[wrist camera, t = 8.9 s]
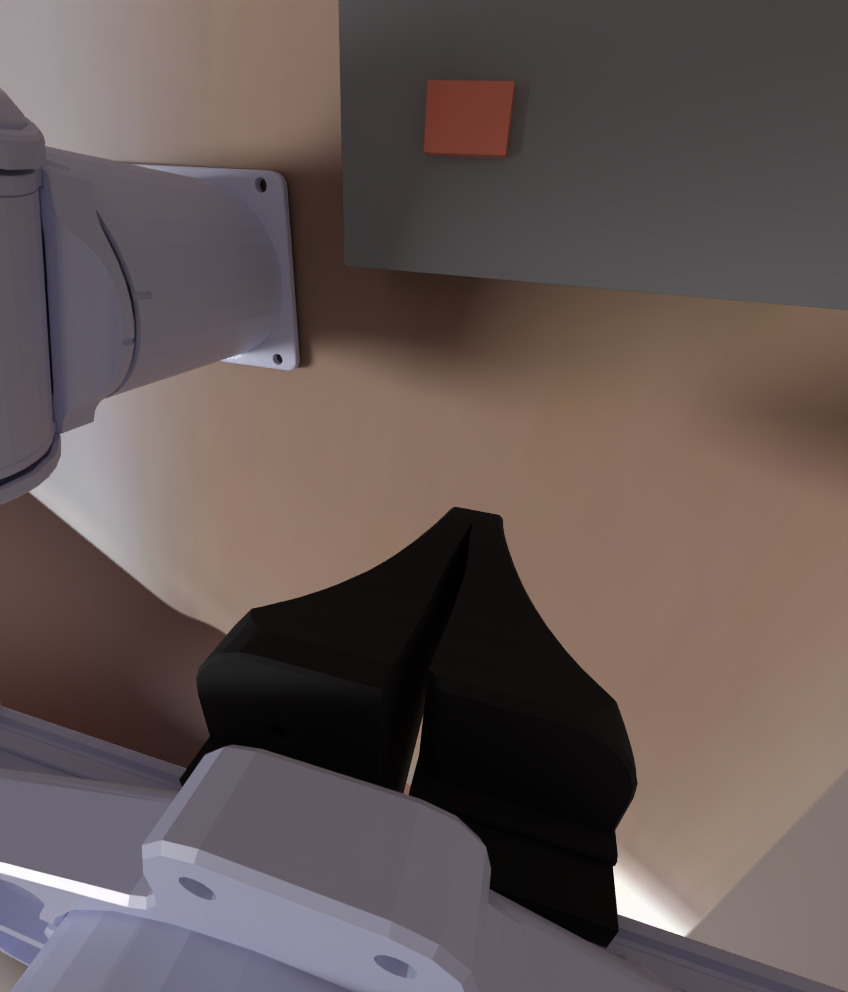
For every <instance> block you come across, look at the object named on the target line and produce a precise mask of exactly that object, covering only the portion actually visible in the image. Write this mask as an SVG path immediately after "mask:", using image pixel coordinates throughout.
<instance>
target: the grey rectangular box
mask: <svg viewBox="0 0 848 992" xmlns="http://www.w3.org/2000/svg"><path fill="white" fill-rule="evenodd" d="M339 41H340V89H341V137H342V185H343V233H344V266H353V267H364V268H376V269H387V270H399V271H410V272H421V273H433V274H444V275H455V276H467V277H478V278H489V279H501V280H512V281H524V282H535V283H546V284H558V285H569V286H580V287H592V288H603V289H614V290H626V291H637V292H649V293H660V294H671V295H683V296H694V297H705V298H717V299H728V300H739V301H751V302H762V303H773V304H785V305H796V306H808V307H819V308H830V309H842V310H848V0H339Z"/></svg>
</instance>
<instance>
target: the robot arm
mask: <svg viewBox="0 0 848 992" xmlns="http://www.w3.org/2000/svg"><path fill="white" fill-rule="evenodd" d="M262 179H264V180H265V181H266V184H267V188H266V190H265V192H263V191H262V190H261V187H260V183H261V181H262ZM277 354H279V355H280V356H281V357H282V360H283V361H282V363H281V362H279V361H278V359H277ZM217 361H221V362H228V363H236V364H243V365H250V366H258V367H265V368H273V369H280V370H287V371H290V370H294V369H296V368H297V367H298V366H299V363H300V356H299V342H298V328H297V314H296V300H295V286H294V272H293V258H292V244H291V230H290V216H289V202H288V188H287V183H286V180H285V179H284V177H283V176H282V175H281V174H280V173H277V172H274V171H268V170H248V169H228V168H208V167H187V166H167V165H147V164H127V163H122V162H117V161H113V160H108V159H103V158H98V157H94V156H89V155H84V154H80V153H75V152H70V151H65V150H61V149H56V148H51V147H47V146H45V139H44V136H43V134H42V133H41V131H40V130H39V129H38V127H37V126H36V125H35V124H34V123H33V122H31V121H30V120H29V119H28V118H26V117H25V116H24V114H23V113H22V112H21V111H20V110H19V108H18V107H17V106H16V105H15V104H14V102H13V101H12V100H11V99H10V98H9V97H8V95H7V94H6V93H5V92H4V91H3V90H2V89H0V505H1V504H4V503H6V502H8V501H11V500H13V499H15V498H18V497H20V496H22V495H24V494H25V493H27V492H29V491H30V490H32V489H34V488H35V487H37V486H38V485H40V484H41V483H42V482H43V481H44V480H46V479H47V478H48V477H49V476H50V474H51V473H52V472H53V471H54V469H55V468H56V466H57V463H58V461H59V458H60V456H61V437H60V434H61V433H64V432H67V431H69V430H72V429H75V428H77V427H80V426H83V425H85V424H88V423H91V422H93V421H94V413H95V410H96V407H97V405H98V404H99V402H100V401H101V400H103V399H104V398H108V397H111V396H114V395H117V394H120V393H123V392H126V391H129V390H132V389H135V388H138V387H141V386H144V385H147V384H150V383H153V382H156V381H159V380H162V379H166V378H169V377H172V376H175V375H178V374H181V373H184V372H187V371H190V370H193V369H196V368H199V367H202V366H205V365H208V364H211V363H214V362H217ZM196 680H197V689H198V695H199V699H200V703H201V706H202V710H203V713H204V717H205V720H206V724H207V727H208V731H209V734H210V737H209V739H208V740H207V741H206V743H205V744H204V745H203V747H202V748H201V750H200V751H199V752H198V754H197V755H196V757H195V758H194V759H193V761H192V762H191V764H190V765H189V766H188V768H187V769H186V768H182V767H180V766H177V765H174V764H171V763H168V762H165V761H162V760H159V759H156V758H153V757H150V756H147V755H144V754H141V753H138V752H135V751H132V750H129V749H126V748H124V747H121V746H118V745H115V744H112V743H109V742H106V741H103V740H100V739H97V738H94V737H91V736H88V735H85V734H82V733H79V732H76V731H73V730H70V729H67V728H64V727H61V726H58V725H55V724H52V723H50V722H46V721H44V720H41V719H37V718H35V717H32V716H29V715H26V714H23V713H20V712H17V711H14V710H11V709H8V708H5V707H2V706H1V701H0V951H1V952H3V953H5V954H7V955H9V956H11V957H13V958H14V959H16V960H18V961H20V962H22V963H24V964H26V965H27V966H29V967H28V968H27V970H26V971H25V972H24V974H23V975H22V976H21V978H20V979H19V980H18V982H17V983H16V984H15V986H14V987H13V989H12V990H11V991H10V992H846V991H843V990H840V989H837V988H834V987H831V986H828V985H825V984H822V983H819V982H816V981H813V980H810V979H807V978H804V977H801V976H799V975H796V974H793V973H789V972H787V971H784V970H780V969H778V968H775V967H772V966H769V965H765V964H763V963H760V962H757V961H754V960H751V959H748V958H745V957H742V956H739V955H736V954H733V953H730V952H727V951H724V950H721V949H719V948H716V947H712V946H710V945H707V944H704V943H701V942H698V941H695V940H692V939H689V938H686V937H683V936H680V935H677V934H674V933H671V932H668V931H665V930H662V929H659V928H656V927H653V926H650V925H648V924H645V923H642V922H639V921H636V920H633V919H630V918H627V917H624V916H621V915H618V914H617V906H616V895H615V885H614V875H613V866H615V865H616V863H617V857H618V853H617V844H616V835H615V830H616V828H617V826H618V824H619V823H620V821H621V819H622V817H623V815H624V814H625V812H626V810H627V808H628V807H629V805H630V803H631V801H632V799H633V798H634V794H635V791H636V787H637V784H638V783H637V778H636V767H635V761H634V756H633V752H632V748H631V745H630V741H629V738H628V735H627V731H626V728H625V725H624V722H623V719H622V716H621V713H620V711H619V708H618V705H617V703H616V701H615V700H614V699H613V698H612V697H611V696H610V695H609V694H608V693H607V692H606V691H605V690H604V689H603V688H602V687H600V686H599V685H598V684H597V683H596V682H595V681H594V680H593V679H592V678H591V677H590V676H589V675H588V674H587V673H586V672H585V671H584V670H583V669H582V668H581V667H580V666H579V665H578V664H577V663H576V662H575V660H574V659H573V658H572V657H571V656H570V655H569V654H568V653H567V651H566V650H565V649H564V648H563V647H562V645H561V644H560V643H559V641H558V640H557V639H556V637H555V636H554V635H553V633H552V632H551V631H550V630H549V628H548V627H547V626H546V624H545V623H544V621H543V619H542V618H541V616H540V615H539V613H538V612H537V610H536V608H535V607H534V605H533V603H532V602H531V600H530V598H529V596H528V594H527V593H526V591H525V589H524V587H523V585H522V582H521V580H520V578H519V576H518V574H517V571H516V569H515V566H514V564H513V561H512V558H511V555H510V552H509V550H508V546H507V543H506V539H505V535H504V529H503V519H502V518H501V516H500V515H497V514H491V513H486V512H481V511H475V510H470V509H464V508H459V507H454V508H452V509H450V510H449V511H448V512H447V513H446V514H445V515H444V516H443V517H442V518H441V519H440V520H439V521H438V522H437V523H436V524H435V525H433V526H432V527H431V528H430V529H429V530H428V531H426V532H425V533H424V534H423V535H421V536H420V537H419V538H418V539H417V540H415V541H414V542H413V543H411V544H410V545H408V546H407V547H406V548H404V549H403V550H401V551H400V552H399V553H397V554H396V555H394V556H393V557H391V558H390V559H388V560H386V561H385V562H383V563H381V564H380V565H378V566H376V567H374V568H373V569H371V570H369V571H367V572H365V573H362V574H360V575H358V576H356V577H353V578H351V579H349V580H347V581H344V582H342V583H340V584H337V585H335V586H332V587H329V588H327V589H324V590H321V591H318V592H315V593H312V594H309V595H306V596H302V597H299V598H295V599H292V600H288V601H283V602H279V603H275V604H271V605H267V606H263V607H258V608H253V609H251V610H250V611H249V612H248V613H247V614H246V615H245V616H244V617H243V618H242V619H241V620H240V621H239V622H238V623H237V624H236V625H235V626H234V627H233V628H232V629H231V631H230V632H229V633H228V634H227V635H226V636H225V638H224V639H223V640H222V641H221V642H220V643H219V645H218V646H217V647H216V648H215V649H214V650H213V652H212V653H211V654H210V655H209V656H208V658H207V659H206V660H205V661H204V662H203V664H202V665H201V666H200V668H199V671H198V674H197V677H196ZM423 713H424V714H423ZM422 717H423V724H422V733H421V743H420V752H419V757H418V761H417V765H416V769H415V772H414V776H413V780H412V784H411V787H410V791H409V795H406V794H403V793H404V789H405V785H406V781H407V777H408V772H409V768H410V764H411V760H412V756H413V752H414V748H415V745H416V741H417V737H418V733H419V729H420V725H421V721H422Z"/></svg>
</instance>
